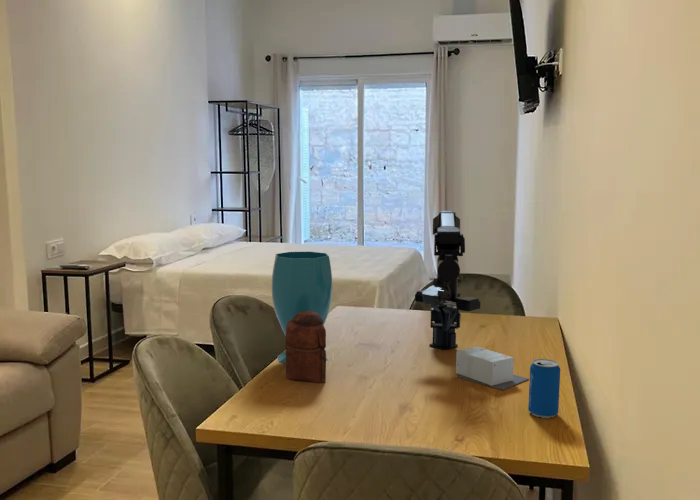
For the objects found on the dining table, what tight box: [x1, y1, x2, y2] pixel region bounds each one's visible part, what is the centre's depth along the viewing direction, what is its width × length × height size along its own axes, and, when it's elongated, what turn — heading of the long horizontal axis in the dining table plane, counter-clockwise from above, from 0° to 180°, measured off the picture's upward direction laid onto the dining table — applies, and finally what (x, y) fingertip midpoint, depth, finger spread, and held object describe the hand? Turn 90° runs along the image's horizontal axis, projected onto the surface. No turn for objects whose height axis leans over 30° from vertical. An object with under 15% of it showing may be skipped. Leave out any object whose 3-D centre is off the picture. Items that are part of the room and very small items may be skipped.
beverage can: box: [527, 358, 561, 419], centre depth 146 cm, size 6×6×12 cm
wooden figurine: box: [285, 311, 327, 384], centre depth 169 cm, size 12×6×18 cm, turn 73°
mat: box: [457, 374, 530, 391], centre depth 172 cm, size 14×12×1 cm
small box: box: [455, 346, 515, 386], centre depth 171 cm, size 8×6×13 cm
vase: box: [271, 251, 333, 365], centre depth 187 cm, size 17×17×30 cm
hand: (445, 330), depth 182 cm, fingers closed
